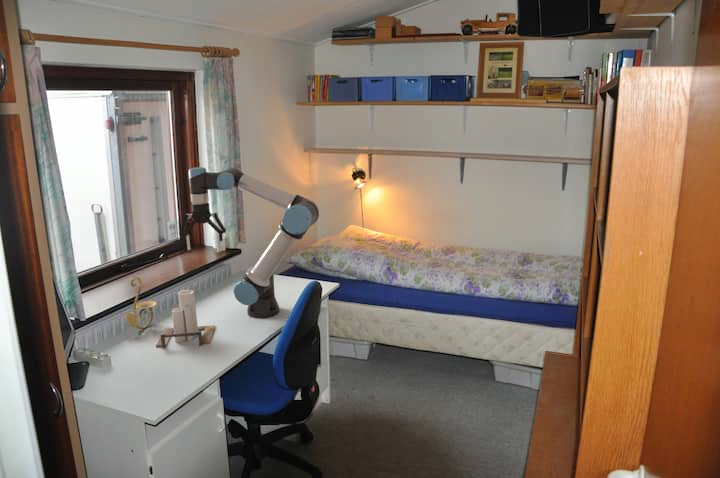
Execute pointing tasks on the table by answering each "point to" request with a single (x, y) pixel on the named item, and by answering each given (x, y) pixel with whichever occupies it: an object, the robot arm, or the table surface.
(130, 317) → the wall sconce
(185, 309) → the candle
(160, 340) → the brown wooden stand
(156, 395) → the table surface
